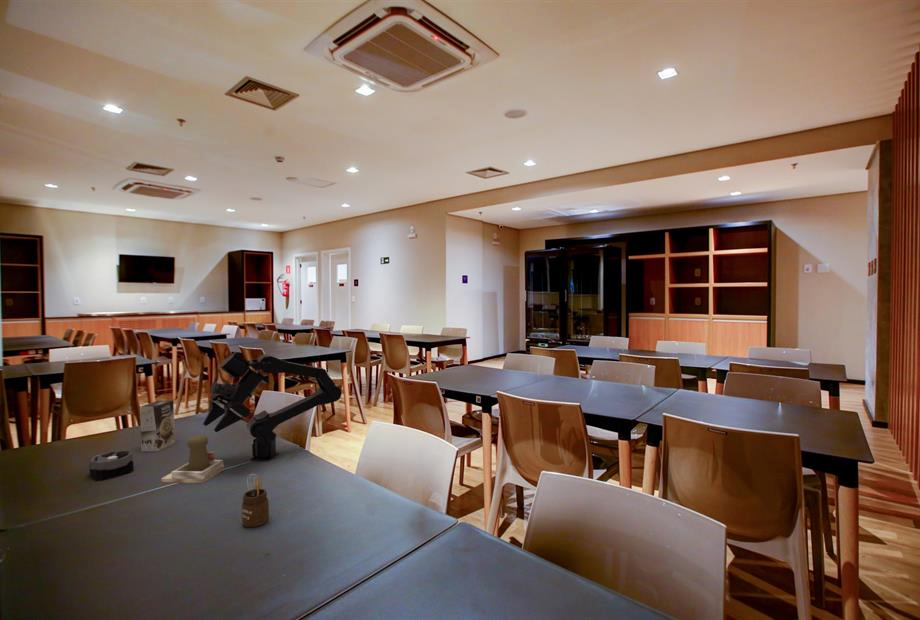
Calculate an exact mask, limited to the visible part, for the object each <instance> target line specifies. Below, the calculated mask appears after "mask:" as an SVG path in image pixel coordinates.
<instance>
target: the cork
mask: <svg viewBox="0 0 920 620" xmlns="http://www.w3.org/2000/svg"><path fill="white" fill-rule="evenodd" d="M208 442H209V440H208V437H207V436H206V435H204V434H203V435H202V434H201V435H200V434H198V435H193V436H192V437H190V438H189V439H188V441H187V446H188V448H189V457H188V463H189V464H188V471H201V472H202V471H203V470H205V469H207V468H208V467H210V465H209V459H208V454H207V452H208V449H207V445H208Z"/></svg>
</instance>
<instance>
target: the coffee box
mask: <svg viewBox="0 0 920 620" xmlns="http://www.w3.org/2000/svg"><path fill="white" fill-rule="evenodd" d="M174 404H175V402H174V400H169V399H167V400H156V401H153V402H150V403H147V404H144V405H141V406H139V413H140V419H139V420H140V421H139V422H140V443H141V444H140V448H141V450H140V451H141V452H160V451H162V450H164V449H166V448H169V446H172V445H174V444H175V443H176V440H175V439H176V438H175V433H176V432H175V429H176V428H175V408H174V406H175V405H174Z"/></svg>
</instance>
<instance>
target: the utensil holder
mask: <svg viewBox="0 0 920 620" xmlns="http://www.w3.org/2000/svg"><path fill="white" fill-rule="evenodd" d="M254 475H255V476H254ZM251 476H253V479H254V483H253V485H254V489H253V488H252V489H249V490H248V491H246V492H244V493H243V495H242V503H241V523H242V525H243V526H244V527H247V528H255V527H259V526H261V525H264V524H265V523H266V522H268V520H269V518H270V511H269V510H270V507H269V506H270V504H269V498H268V497H267V495H268V494H267V490H266V489H265V488H262V487H263V475H260V476H258V477H257V474H255V473H251V474H249V475H247V479H246V480H247V481H246V483H247V484H249V480H248V479H249V478H250V477H251ZM249 485H250V486H249ZM249 485H247V488H250V487H253V486H252V484H249Z"/></svg>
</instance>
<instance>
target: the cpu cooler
mask: <svg viewBox="0 0 920 620" xmlns="http://www.w3.org/2000/svg"><path fill="white" fill-rule="evenodd" d="M133 453H134V452H133V451H129V450H123V449H121V450H115V451H109V452H105V453H99V454H96V455H93V456H91V459H90V461H89V476H91V478H92V479H94V480H95V481H96V482H98V481H104V480H108V479H112V478H116V477H120V476H122V475H124V476H125V475H127V474H131V473H132V472H134V459H133V458H134V457H133Z"/></svg>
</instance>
